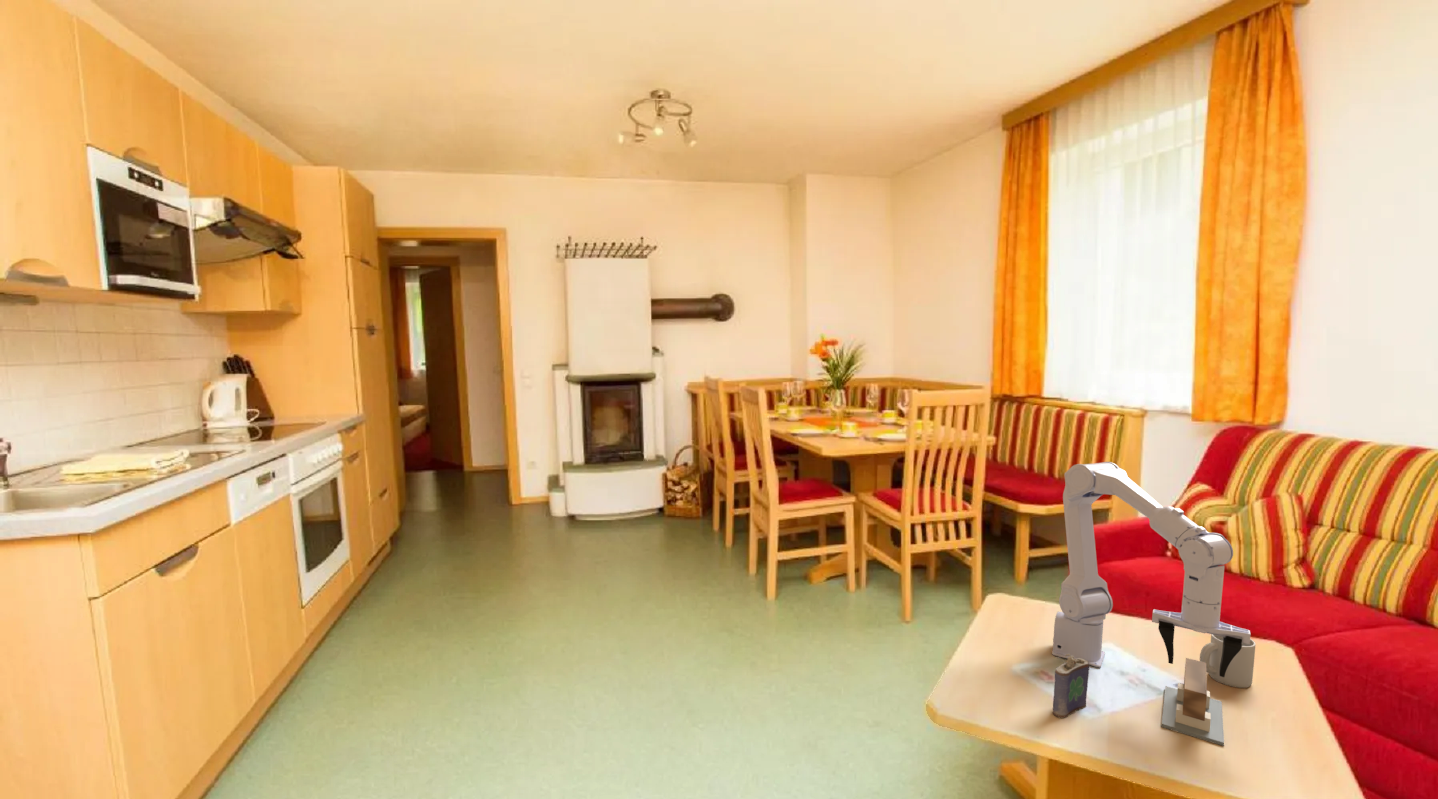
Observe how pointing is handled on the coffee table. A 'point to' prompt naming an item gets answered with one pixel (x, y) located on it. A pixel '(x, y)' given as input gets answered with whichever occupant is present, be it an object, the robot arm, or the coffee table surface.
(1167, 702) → the stand
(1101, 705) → the coffee table surface
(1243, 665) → the cup
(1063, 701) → the flask
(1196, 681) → the case
